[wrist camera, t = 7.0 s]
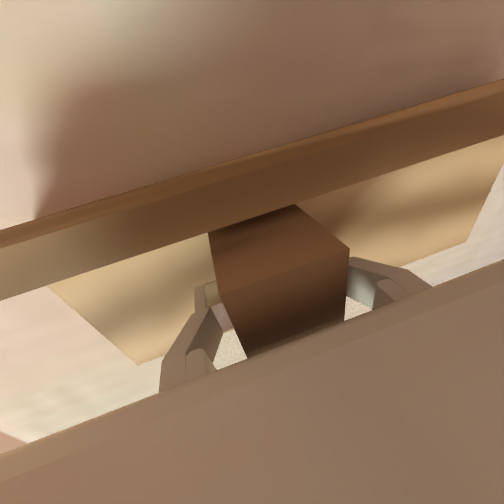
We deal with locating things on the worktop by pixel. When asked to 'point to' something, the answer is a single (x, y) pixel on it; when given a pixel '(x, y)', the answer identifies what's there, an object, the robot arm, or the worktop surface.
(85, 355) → the worktop surface
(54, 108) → the worktop surface
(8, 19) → the worktop surface
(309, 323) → the brown block
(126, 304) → the board
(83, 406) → the worktop surface
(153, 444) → the robot arm
